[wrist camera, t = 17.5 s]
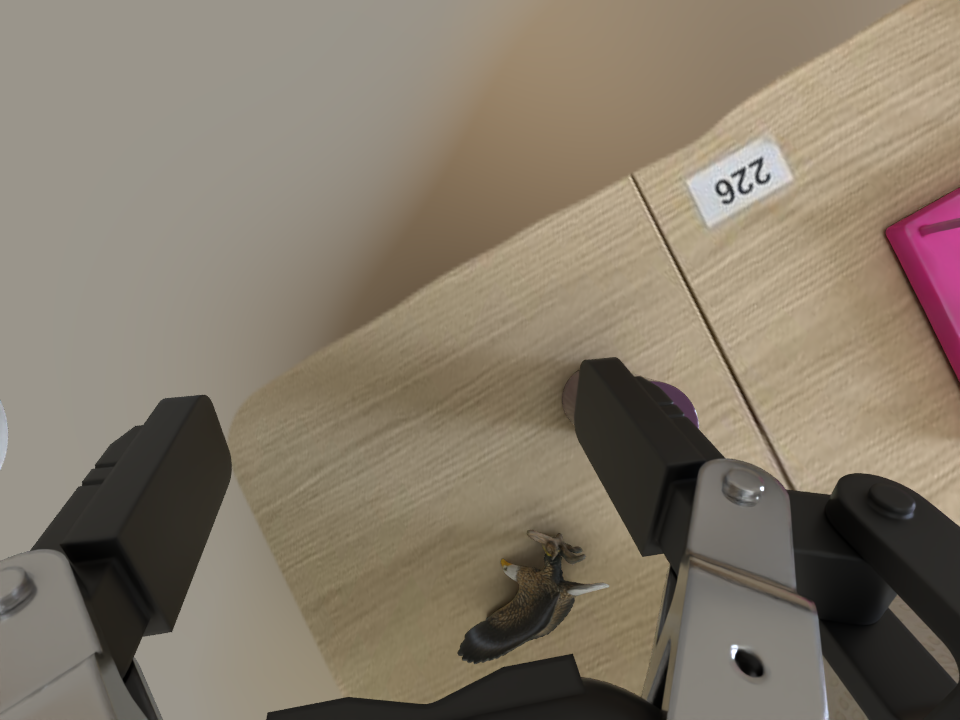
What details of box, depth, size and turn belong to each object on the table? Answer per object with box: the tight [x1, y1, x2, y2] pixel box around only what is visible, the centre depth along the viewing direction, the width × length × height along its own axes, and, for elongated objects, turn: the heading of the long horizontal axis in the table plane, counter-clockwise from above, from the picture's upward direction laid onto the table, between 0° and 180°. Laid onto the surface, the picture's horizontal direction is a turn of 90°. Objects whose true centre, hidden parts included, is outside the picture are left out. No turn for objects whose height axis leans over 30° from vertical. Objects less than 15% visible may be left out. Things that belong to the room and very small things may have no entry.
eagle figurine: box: [458, 530, 609, 664], centre depth 31 cm, size 8×7×9 cm
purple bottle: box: [562, 370, 699, 429], centre depth 27 cm, size 5×5×11 cm
